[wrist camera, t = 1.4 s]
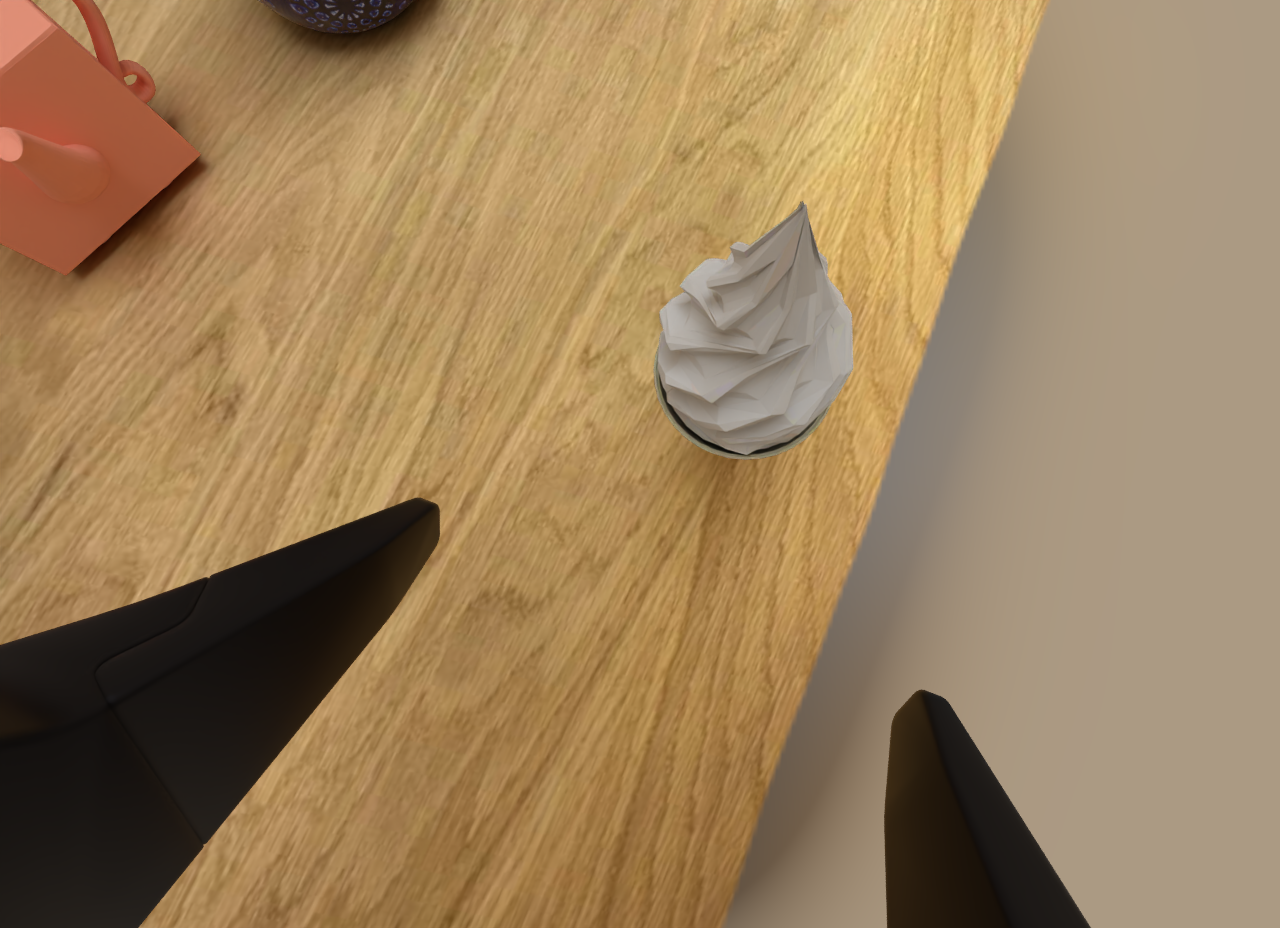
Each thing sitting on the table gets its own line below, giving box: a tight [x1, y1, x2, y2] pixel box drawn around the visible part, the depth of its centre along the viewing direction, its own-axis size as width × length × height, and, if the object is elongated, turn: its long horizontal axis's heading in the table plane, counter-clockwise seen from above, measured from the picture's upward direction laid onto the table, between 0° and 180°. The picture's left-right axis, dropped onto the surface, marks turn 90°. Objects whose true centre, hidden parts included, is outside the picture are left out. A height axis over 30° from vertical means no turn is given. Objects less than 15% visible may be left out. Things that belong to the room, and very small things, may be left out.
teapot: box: [0, 0, 201, 275], centre depth 23 cm, size 12×15×8 cm
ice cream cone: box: [654, 201, 853, 460], centre depth 16 cm, size 5×5×15 cm
